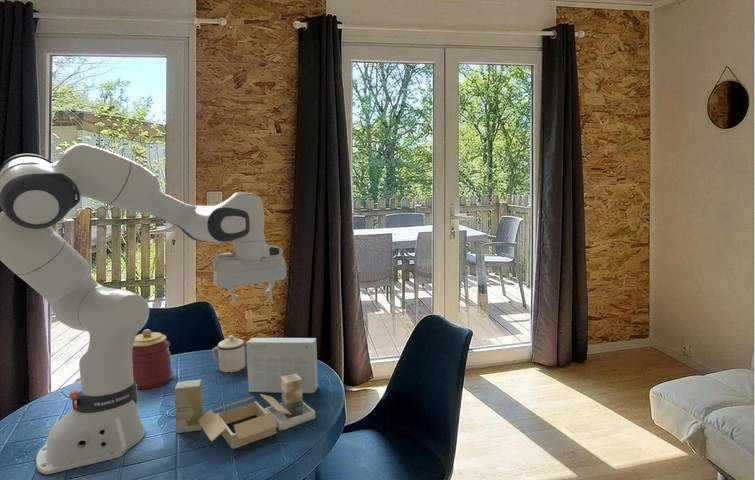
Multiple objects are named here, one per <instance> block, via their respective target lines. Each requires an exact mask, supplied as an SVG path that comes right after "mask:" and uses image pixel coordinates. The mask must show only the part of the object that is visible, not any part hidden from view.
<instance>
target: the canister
mask: <svg viewBox="0 0 755 480" xmlns="http://www.w3.org/2000/svg"><path fill="white" fill-rule="evenodd" d="M170 345H171V343H170V341H169V340H167V335H165V334H163V333H161V332H159V331H158V332H156V331H151V329H148V328H147V329H143V331H142V332H141V333H140V334H137V335H136V337H135V341H134V344H133V351H132V362H133V377H134V379H135V382H136V384H137V390H147V389H148V390H149V389H153V388H157V387H160V386H162V385H165V384H167V383H168V382H170V380H171V379H172V375H173V369H172V362H171V361H172V360H171V351H169V350H170V349H169V347H170Z"/></svg>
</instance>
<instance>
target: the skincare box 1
mask: <svg viewBox="0 0 755 480" xmlns="http://www.w3.org/2000/svg"><path fill="white" fill-rule="evenodd" d="M203 398H204V397H203V379H194V380H185V381H184V380H183V381H177V382H176V384H175V386H174V403H175V425H176V426H175V427H176V430H175V431H176V433H177V434H181V433H190V432H197V431H203V428H202V427H201V425H200V424H199V422H198V421H197V420H198V419H200V418H201V417H202V416H203V415H204V402H203V401H204V400H203Z"/></svg>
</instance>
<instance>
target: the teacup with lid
mask: <svg viewBox="0 0 755 480" xmlns="http://www.w3.org/2000/svg"><path fill="white" fill-rule="evenodd" d="M245 345H246V343H245V340H243V339H241V338H238V337H235V336H234V335H232V334H231V335H227V338H225V339H224V340H221V341H220V342H218V344H217V346H215V347H214V348H212V351H211V355H212V357H213V359H214V360H216V361H217V362H218V365H219V366H218V367H219V368H218V369H219V370H220V372H223V373H227V372H230V373H235V372H239V371H242V370H243V369H245V367H246V356H245ZM216 350H218V351H217V352H218V355H217V354H216ZM241 369H242V370H241Z"/></svg>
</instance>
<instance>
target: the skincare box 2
mask: <svg viewBox="0 0 755 480" xmlns="http://www.w3.org/2000/svg"><path fill="white" fill-rule="evenodd" d="M245 345H246V361H247V362H246V365H247V366H246V368H247V381H248V383H247V384H248V392H249V393H280V394H282V391H281V377H283V376H287V375H292V374H298V376H299V377H300V378H301V379H302V394H315V393H316V392H317V390H318V388H319V377H318V354H317V353H318V351H317V350H318V349H317V337H251V338H250V339H248V340H247V341H246V343H245Z"/></svg>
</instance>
